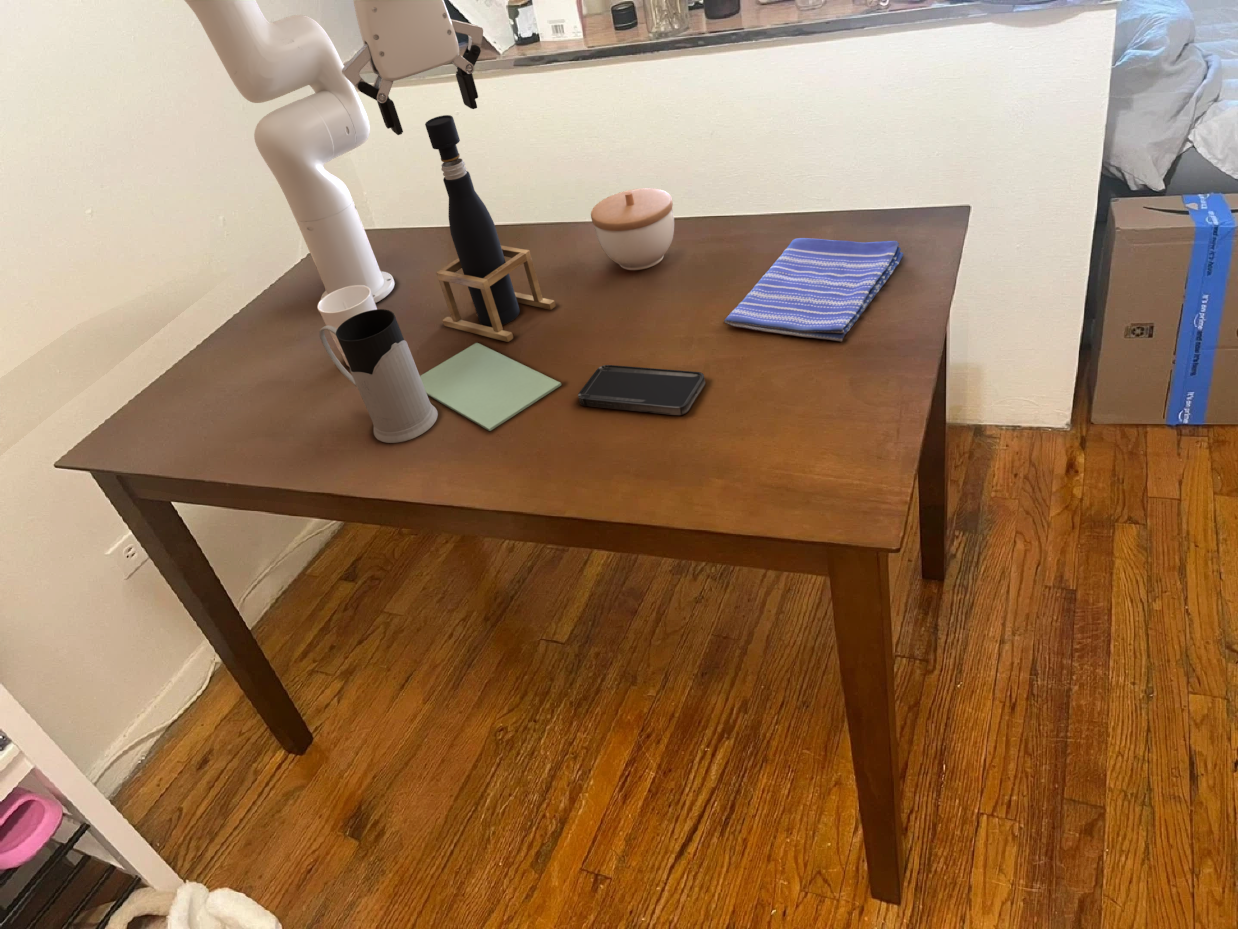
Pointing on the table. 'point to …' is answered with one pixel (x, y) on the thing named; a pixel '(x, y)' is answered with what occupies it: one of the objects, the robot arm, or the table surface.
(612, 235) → the lidded bowl
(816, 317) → the dish towel
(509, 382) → the mat
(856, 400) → the table surface
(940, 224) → the table surface
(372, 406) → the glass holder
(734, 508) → the table surface
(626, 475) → the table surface
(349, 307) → the white cup
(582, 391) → the phone
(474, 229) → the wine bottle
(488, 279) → the bottle stand
